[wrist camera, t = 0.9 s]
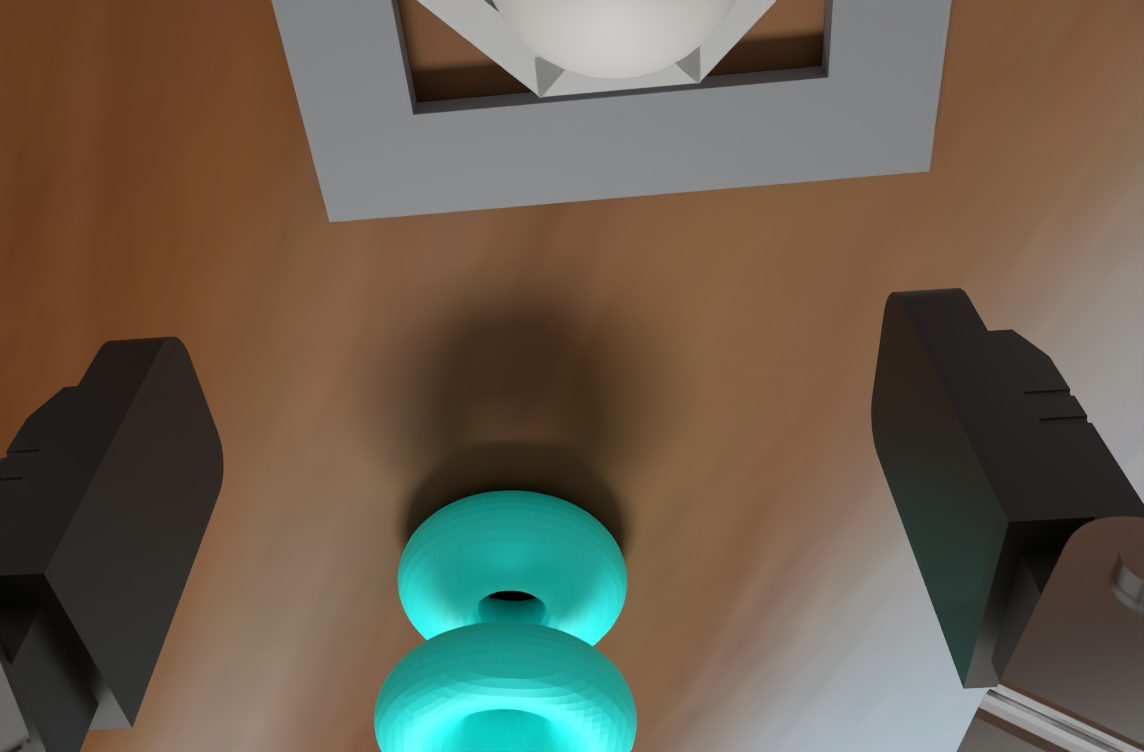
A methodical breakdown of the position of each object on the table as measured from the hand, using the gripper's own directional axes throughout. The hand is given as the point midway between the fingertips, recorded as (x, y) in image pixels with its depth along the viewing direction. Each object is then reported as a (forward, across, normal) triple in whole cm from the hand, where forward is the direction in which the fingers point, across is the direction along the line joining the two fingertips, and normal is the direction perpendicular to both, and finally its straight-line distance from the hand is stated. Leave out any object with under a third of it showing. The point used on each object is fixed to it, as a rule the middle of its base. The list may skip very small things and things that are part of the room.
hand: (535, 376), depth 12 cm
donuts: (+22, +4, +27) cm, 35 cm away
